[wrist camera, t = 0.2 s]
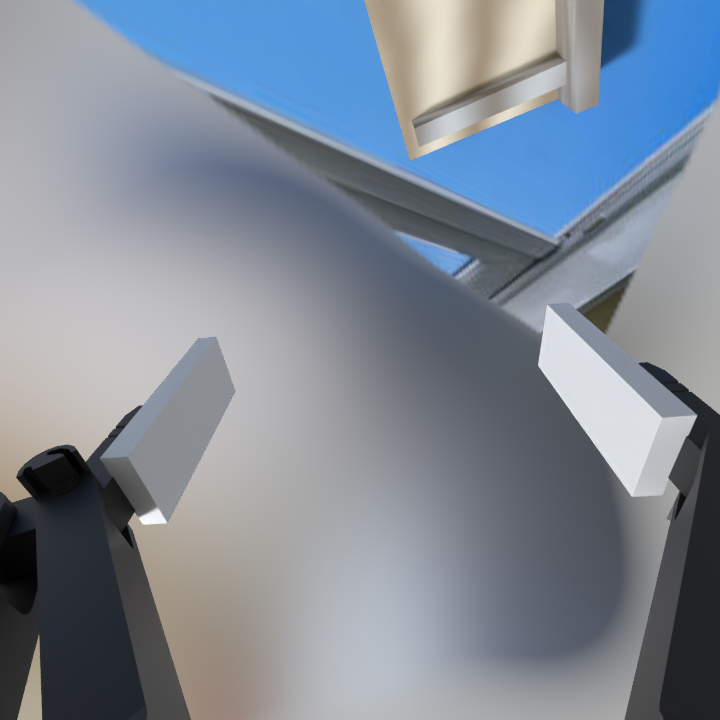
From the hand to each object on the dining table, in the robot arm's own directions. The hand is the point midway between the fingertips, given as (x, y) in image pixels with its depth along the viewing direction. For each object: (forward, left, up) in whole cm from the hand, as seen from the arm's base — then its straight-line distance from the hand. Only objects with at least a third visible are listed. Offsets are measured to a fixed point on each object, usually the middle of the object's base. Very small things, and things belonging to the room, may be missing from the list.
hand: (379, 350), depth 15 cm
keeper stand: (-11, +2, -27) cm, 29 cm away
